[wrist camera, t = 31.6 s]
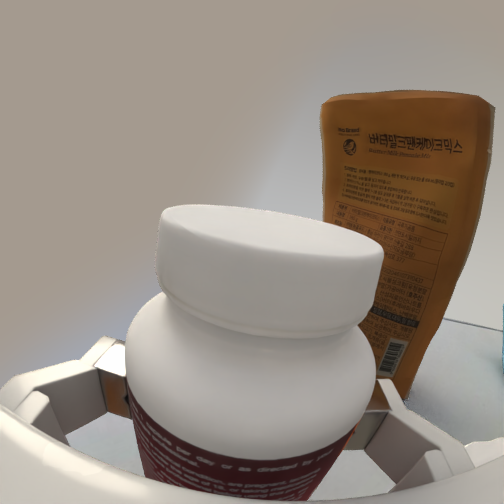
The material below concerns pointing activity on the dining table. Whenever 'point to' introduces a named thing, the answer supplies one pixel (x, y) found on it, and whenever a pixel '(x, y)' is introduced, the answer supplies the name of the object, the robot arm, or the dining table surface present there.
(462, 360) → the dining table surface
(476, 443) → the plate
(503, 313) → the teapot
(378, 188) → the pancake mix bag
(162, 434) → the pill bottle
